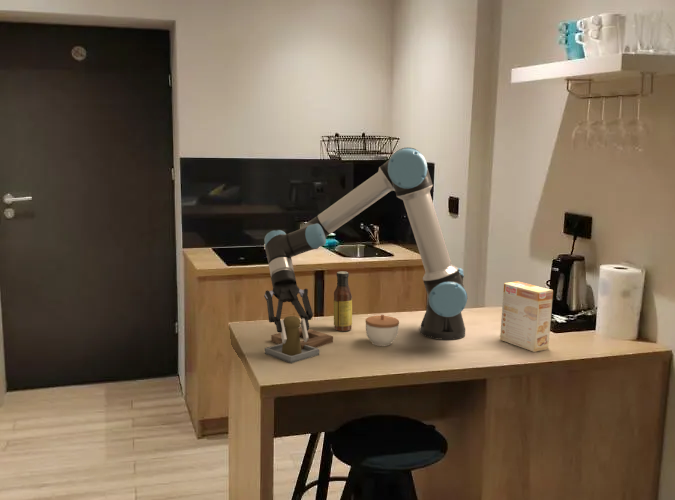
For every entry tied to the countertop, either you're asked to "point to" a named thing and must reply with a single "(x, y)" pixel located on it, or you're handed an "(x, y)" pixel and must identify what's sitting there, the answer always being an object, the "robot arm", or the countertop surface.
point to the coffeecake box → (526, 316)
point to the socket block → (313, 341)
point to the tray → (277, 353)
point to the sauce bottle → (342, 303)
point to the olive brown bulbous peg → (292, 336)
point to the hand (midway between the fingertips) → (295, 340)
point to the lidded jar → (382, 329)
